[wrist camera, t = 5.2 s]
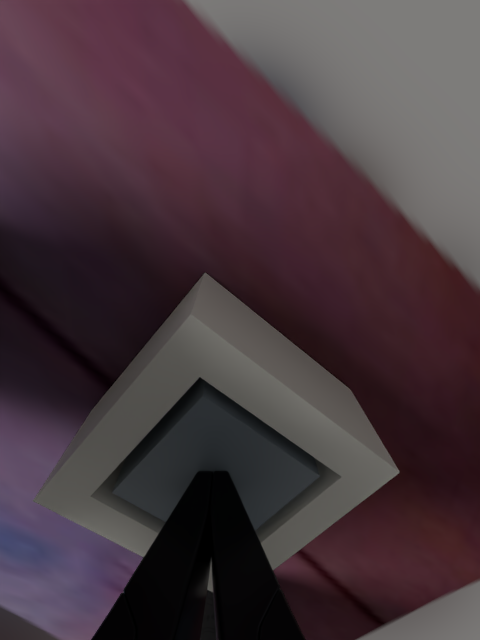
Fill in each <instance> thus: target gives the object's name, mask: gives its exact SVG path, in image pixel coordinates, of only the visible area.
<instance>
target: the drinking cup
mask: <svg viewBox="0 0 480 640" xmlns="http://www.w3.org/2000/svg"><path fill="white" fill-rule="evenodd" d="M200 640H216V626H215V611H214V597H213V592H211V591H209V590H207V595H206V602H205V609H204V616H203V622H202V629H201V636H200Z"/></svg>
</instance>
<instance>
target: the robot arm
mask: <svg viewBox="0 0 480 640" xmlns="http://www.w3.org/2000/svg"><path fill="white" fill-rule="evenodd" d="M211 563H212V582H213V597H214V611H215V626H216V640H306V639H305V637H304V635H303V634H302V632H301V630H300V628H299V625H298V623H297V621H296V619H295V617H294V615H293V613H292V611H291V609H290V607H289V605H288V602H287V600H286V598H285V596H284V593H283V591H282V590H280V585H279V583H278V581H277V578H276V576H275V574H274V572H273V569H272V567H271V565H270V563H269V560H268V558H267V556H266V554H265V552H264V549H263V547H262V545H261V543H260V540H259V538H258V536H257V534H256V531H255V529H254V527H253V525H252V523H251V520H250V518H249V516H248V514H247V511H246V509H245V507H244V505H243V502H242V500H241V498H240V496H239V494H238V491H237V489H236V487H235V485H234V482H233V480H232V478H231V476H230V474H229V472H228V471H214V472H213V473H212V471H198V472H197V473H196V474H195V476H194V478H193V479H192V481H191V482H190V484H189V486H188V487H187V489H186V490H185V492H184V494H183V495H182V497H181V498H180V500H179V502H178V503H177V505H176V506H175V508H174V510H173V511H172V513H171V514H170V516H169V518H168V519H167V521H166V522H165V524H164V526H163V527H162V529H161V530H160V532H159V534H158V535H157V537H156V538H155V540H154V542H153V543H152V545H151V546H150V548H149V550H148V551H147V553H146V555H145V556H144V558H143V559H142V561H141V563H140V564H139V566H138V567H137V569H136V571H135V572H134V574H133V575H132V577H131V579H130V580H129V582H128V583H127V585H126V587H125V588H124V593H121V594H120V596H119V598H118V599H117V601H116V602H115V604H114V606H113V607H112V609H111V610H110V612H109V613H108V615H107V616H106V618H105V620H104V621H103V623H102V624H101V626H100V627H99V629H98V630H97V632H96V633H95V635H94V636H93V638H92V639H91V640H200V636H201V629H202V622H203V616H204V609H205V602H206V595H207V588H208V581H209V574H210V566H211Z"/></svg>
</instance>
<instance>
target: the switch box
mask: <svg viewBox="0 0 480 640" xmlns="http://www.w3.org/2000/svg"><path fill="white" fill-rule="evenodd" d="M199 377H201V378H202V379H203V380H205V381H206V382H208V383H209V384H210V385H212V386H213V387H215V388H216V389H218V390H219V391H220V392H222V393H223V394H225V395H226V396H228V397H229V398H230V399H232V400H233V401H235V402H236V403H237V404H239V405H240V406H242V407H243V408H245V409H246V410H247V411H249V412H250V413H252V414H253V415H255V416H256V417H257V418H259V419H260V420H262V421H263V422H264V423H266V424H267V425H269V426H270V427H272V428H273V429H274V430H276V431H277V432H279V433H280V434H282V435H283V436H284V437H286V438H287V439H289V440H290V441H291V442H293V443H294V444H296V445H297V446H299V447H300V448H301V449H303V450H304V451H306V452H307V453H309V454H310V455H311V456H313V457H314V458H315V462H316V465H317V468H318V472H319V475H320V477H319V478H318V479H316V480H315V481H314V482H313V483H312V484H310V485H309V486H308V487H307V488H306V489H304V490H303V491H302V492H301V493H300V494H298V495H297V496H296V497H295V498H294V499H292V500H291V501H290V502H289V503H288V504H286V505H285V506H284V507H283V508H282V509H280V510H279V511H278V512H277V513H276V514H274V515H273V516H272V517H271V518H270V519H268V520H267V521H266V522H265V523H264V524H262V525H261V526H260V527H259V528H258V529H256V530H255V531H256V534H257V536H258V538H259V540H260V543H261V545H262V547H263V549H264V552H265V554H266V556H267V558H268V560H269V563H270V565H271V567H272V569H273V570H274V569H275V568H277V567H278V566H279V565H281V564H282V563H283V562H285V561H286V560H287V559H288V558H290V557H291V556H292V555H294V554H295V553H296V552H298V551H299V550H300V549H301V548H303V547H304V546H305V545H307V544H308V543H309V542H310V541H312V540H313V539H314V538H316V537H317V536H318V535H320V534H321V533H322V532H323V531H325V530H326V529H327V528H329V527H330V526H331V525H332V524H334V523H335V522H336V521H338V520H339V519H340V518H342V517H343V516H344V515H345V514H347V513H348V512H349V511H351V510H352V509H353V508H355V507H356V506H357V505H358V504H360V503H361V502H362V501H364V500H365V499H366V498H367V497H369V496H370V495H371V494H373V493H374V492H375V491H377V490H378V489H379V488H380V487H382V486H383V485H384V484H386V483H387V482H388V481H389V480H391V479H392V478H393V477H395V476H396V475H397V474H399V473H400V472H399V470H398V468H397V467H396V465H395V463H394V462H393V460H392V458H391V456H390V455H389V453H388V451H387V450H386V448H385V446H384V445H383V443H382V441H381V440H380V438H379V436H378V435H377V433H376V431H375V430H374V428H373V426H372V425H371V423H370V421H369V420H368V418H367V416H366V415H365V413H364V411H363V410H362V408H361V406H360V405H359V403H358V401H357V400H356V398H355V396H354V394H353V393H352V391H351V390H350V389H349V388H348V387H347V386H346V385H344V384H343V383H342V382H341V381H339V380H338V379H337V378H336V377H334V376H333V375H332V374H331V373H329V372H328V371H327V370H326V369H324V368H323V367H322V366H321V365H319V364H318V363H317V362H316V361H315V360H313V359H312V358H311V357H310V356H308V355H307V354H306V353H305V352H303V351H302V350H301V349H300V348H298V347H297V346H296V345H295V344H293V343H292V342H291V341H290V340H288V339H287V338H286V337H285V336H283V335H282V334H281V333H280V332H279V331H277V330H276V329H275V328H274V327H272V326H271V325H270V324H269V323H267V322H266V321H265V320H264V319H262V318H261V317H260V316H259V315H257V314H256V313H255V312H254V311H252V310H251V309H250V308H249V307H248V306H246V305H245V304H244V303H243V302H241V301H240V300H239V299H238V298H236V297H235V296H234V295H233V294H231V293H230V292H229V291H228V290H226V289H225V288H224V287H223V286H221V285H220V284H219V283H218V282H216V281H215V280H214V279H213V278H212V277H210V276H209V275H208V274H207V273H204V274H203V276H202V277H201V278H200V279H199V281H198V282H197V283H196V284H195V285H194V287H193V288H192V289H191V290H190V291H189V293H188V294H187V295H186V296H185V298H184V299H183V300H182V301H181V302H180V304H179V305H178V306H177V307H176V308H175V310H174V311H173V312H172V313H171V314H170V316H169V317H168V318H167V319H166V321H165V322H164V323H163V324H162V325H161V327H160V328H159V329H158V330H157V331H156V333H155V334H154V335H153V336H152V338H151V339H150V340H149V341H148V342H147V344H146V345H145V346H144V347H143V348H142V350H141V351H140V352H139V353H138V355H137V356H136V357H135V358H134V359H133V361H132V362H131V363H130V364H129V365H128V367H127V368H126V369H125V370H124V372H123V373H122V374H121V375H120V376H119V378H118V379H117V380H116V381H115V382H114V384H113V385H112V386H111V387H110V389H109V390H108V391H107V392H106V393H105V395H104V396H103V397H102V398H101V399H100V401H99V402H98V403H97V404H96V405H95V407H94V408H93V409H92V410H91V412H90V413H89V415H88V417H87V418H86V420H85V421H84V423H83V424H82V426H81V427H80V429H79V430H78V432H77V434H76V435H75V437H74V438H73V440H72V441H71V443H70V444H69V446H68V447H67V449H66V451H65V452H64V454H63V455H62V457H61V458H60V460H59V461H58V463H57V464H56V466H55V468H54V469H53V471H52V472H51V474H50V475H49V477H48V478H47V480H46V481H45V483H44V485H43V486H42V488H41V489H40V491H39V492H38V494H37V495H36V497H35V499H34V500H33V501H34V502H36V503H38V504H40V505H42V506H44V507H46V508H48V509H50V510H52V511H54V512H56V513H58V514H59V515H61V516H63V517H65V518H67V519H69V520H71V521H73V522H75V523H77V524H79V525H81V526H83V527H85V528H87V529H89V530H91V531H93V532H95V533H97V534H99V535H101V536H103V537H105V538H107V539H109V540H111V541H113V542H115V543H117V544H118V545H120V546H122V547H124V548H126V549H128V550H130V551H132V552H134V553H136V554H138V555H140V556H142V557H144V556H145V555H146V553H147V551H148V550H149V548H150V546H151V545H152V543H153V542H154V540H155V538H156V537H157V535H158V534H159V532H160V530H161V529H162V527H163V526H164V524H165V522H164V521H162V520H161V519H159V518H157V517H155V516H153V515H152V514H150V513H148V512H146V511H144V510H142V509H141V508H139V507H137V506H135V505H133V504H132V503H130V502H128V501H126V500H124V499H122V498H121V497H119V496H117V495H115V494H113V493H112V491H113V488H114V486H115V483H116V481H117V478H118V476H119V474H120V471H121V469H122V466H123V464H124V461H125V459H126V457H127V456H128V455H129V454H130V453H131V451H132V450H133V449H134V448H135V447H136V446H137V445H138V444H139V443H140V442H141V441H142V439H143V438H144V437H145V436H146V435H147V434H148V433H149V432H150V431H151V430H152V429H153V427H154V426H155V425H156V424H157V423H158V422H159V421H160V420H161V419H162V418H163V417H164V415H165V414H166V413H167V412H168V411H169V410H170V409H171V408H172V407H173V406H174V405H175V403H176V402H177V401H178V400H179V399H180V398H181V397H182V396H183V395H184V394H185V393H186V392H187V390H188V389H189V388H190V387H191V386H192V385H193V384H194V383H195V382H196V381H197V380H198V378H199ZM207 590H209V591H211V592H213V582H212V563H211V566H210V574H209V581H208V588H207Z"/></svg>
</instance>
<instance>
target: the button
mask: <svg viewBox="0 0 480 640" xmlns="http://www.w3.org/2000/svg"><path fill="white" fill-rule="evenodd" d="M198 471H212V473H213V472H214V471H228V472H229V474H230V476H231V478H232V480H233V482H234V485H235V487H236V489H237V491H238V494H239V496H240V498H241V500H242V502H243V505H244V507H245V509H246V511H247V514H248V516H249V518H250V520H251V523H252V525H253V527H254V529H255V530H256V529H258V528H259V527H260V526H261V525H262V524H264V523H265V522H266V521H267V520H268V519H270V518H271V517H272V516H273V515H274V514H276V513H277V512H278V511H279V510H280V509H282V508H283V507H284V506H285V505H286V504H288V503H289V502H290V501H291V500H292V499H294V498H295V497H296V496H297V495H298V494H300V493H301V492H302V491H303V490H304V489H306V488H307V487H308V486H309V485H310V484H312V483H313V482H314V481H315V480H316V479H318V478H319V477H320V475H319V472H318V468H317V465H316V462H315V458H314V457H313V456H311V455H310V454H309V453H307V452H306V451H304V450H303V449H301V448H300V447H299V446H297V445H296V444H294V443H293V442H291V441H290V440H289V439H287V438H286V437H284V436H283V435H282V434H280V433H279V432H277V431H276V430H274V429H273V428H272V427H270V426H269V425H267V424H266V423H264V422H263V421H262V420H260V419H259V418H257V417H256V416H255V415H253V414H252V413H250V412H249V411H247V410H246V409H245V408H243V407H242V406H240V405H239V404H237V403H236V402H235V401H233V400H232V399H230V398H229V397H228V396H226V395H225V394H223V393H222V392H220V391H219V390H218V389H216V388H215V387H213V386H212V385H210V384H209V383H208V382H206V381H205V380H203V379H202V378H201V377H199V378H198V380H197V381H196V382H195V383H194V384H193V385H192V386H191V387H190V388H189V389H188V390H187V392H186V393H185V394H184V395H183V396H182V397H181V398H180V399H179V400H178V401H177V402H176V403H175V405H174V406H173V407H172V408H171V409H170V410H169V411H168V412H167V413H166V414H165V415H164V417H163V418H162V419H161V420H160V421H159V422H158V423H157V424H156V425H155V426H154V427H153V429H152V430H151V431H150V432H149V433H148V434H147V435H146V436H145V437H144V438H143V439H142V441H141V442H140V443H139V444H138V445H137V446H136V447H135V448H134V449H133V450H132V451H131V453H130V454H129V455H128V456H127V457H126V459H125V461H124V464H123V466H122V469H121V471H120V474H119V476H118V478H117V481H116V483H115V486H114V488H113V491H112V493H113V494H115V495H117V496H119V497H121V498H122V499H124V500H126V501H128V502H130V503H132V504H133V505H135V506H137V507H139V508H141V509H142V510H144V511H146V512H148V513H150V514H152V515H153V516H155V517H157V518H159V519H161V520H162V521H164V522H166V521H167V519H168V518H169V516H170V514H171V513H172V511H173V510H174V508H175V506H176V505H177V503H178V502H179V500H180V498H181V497H182V495H183V494H184V492H185V490H186V489H187V487H188V486H189V484H190V482H191V481H192V479H193V478H194V476H195V474H196V473H197V472H198Z"/></svg>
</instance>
